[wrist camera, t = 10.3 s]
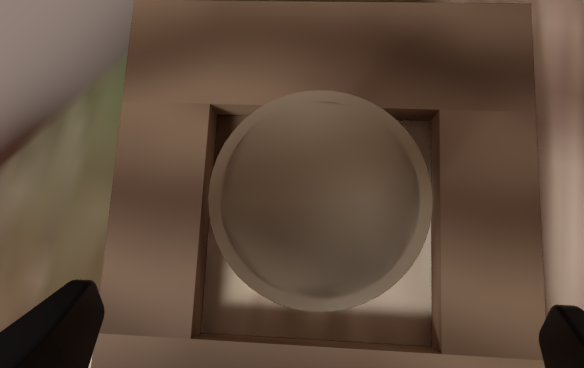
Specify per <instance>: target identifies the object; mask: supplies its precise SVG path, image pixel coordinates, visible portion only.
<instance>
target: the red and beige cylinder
mask: <svg viewBox="0 0 584 368" xmlns="http://www.w3.org/2000/svg"><path fill="white" fill-rule="evenodd" d="M208 203H209V216H210V222H211V227H212V230H213V234H214V237H215V240H216V242H217V245H218V247H219V249H220V251H221V253H222V255H223V256H224V258H225V260H226V261H227V263H228V264H229V266H230V267H231V268H232V270H233V271H234V272H235V273H236V274H237V276H238V277H239V278H240V279H241V280H242V281H244V282H245V283H246V284H247V285H248V286H249V287H250V288H252V289H253V290H254V291H256V292H257V293H259V294H260V295H262V296H263V297H265V298H267V299H269V300H271V301H273V302H275V303H278V304H280V305H283V306H286V307H289V308H293V309H297V310H302V311H311V312H331V311H339V310H344V309H349V308H352V307H355V306H358V305H361V304H364V303H366V302H368V301H370V300H372V299H374V298H376V297H378V296H380V295H381V294H382V293H384V292H385V291H387V290H388V289H390V288H391V287H392V286H393V285H394V284H395V283H397V282H398V281H399V280H400V279H401V278H402V277H403V276H404V275H405V273H406V272H407V271H408V270H409V269H410V267H411V266H412V265H413V263H414V261H415V260H416V258H417V257H418V255H419V253H420V251H421V249H422V247H423V245H424V242H425V240H426V237H427V234H428V230H429V227H430V222H431V215H432V188H431V180H430V177H429V173H428V169H427V166H426V163H425V161H424V158H423V156H422V153H421V152H420V150H419V148H418V146H417V145H416V143H415V141H414V140H413V138H412V137H411V136H410V134H409V133H408V132H407V130H406V129H405V128H404V127H403V126H402V125H401V124H400V123H399V122H398V121H397V120H396V119H395V118H394V117H392V116H391V115H390V114H389V113H387V112H386V111H385V110H383V109H382V108H380V107H378V106H377V105H375V104H373V103H371V102H369V101H367V100H365V99H362V98H360V97H357V96H354V95H350V94H347V93H342V92H336V91H324V90H315V91H303V92H298V93H294V94H289V95H286V96H284V97H281V98H278V99H275V100H273V101H271V102H269V103H267V104H265V105H263V106H262V107H260V108H259V109H257V110H256V111H254V112H253V113H252V114H250V115H249V116H248V117H247V118H246V119H244V120H243V121H242V122H241V123H240V124H239V125H238V127H237V128H236V129H235V130H234V131H233V132H232V133H231V135H230V136H229V138H228V139H227V141H226V142H225V143H224V145H223V147H222V149H221V151H220V153H219V155H218V157H217V160H216V162H215V165H214V168H213V171H212V175H211V180H210V185H209V195H208Z"/></svg>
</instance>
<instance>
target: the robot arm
mask: <svg viewBox="0 0 584 368" xmlns="http://www.w3.org/2000/svg"><path fill="white" fill-rule="evenodd" d="M104 314H105V309H104V304H103V302H102V299H101V296H100V294H99V291H98V289H97V286H96V284H95V283H94V282H93V281H91V280H72V281H70V282H68V283H67V284H66V285H64V286H63V287H61V288H60V289H59V290H57V291H56V292H55V293H53V294H52V295H51V296H49V297H48V298H46V299H45V300H44V301H42V302H41V303H40V304H38V305H37V306H36V307H34V308H33V309H31V310H30V311H29V312H27V313H26V314H25V315H23V316H22V317H21V318H19V319H18V320H16V321H15V322H14V323H12V324H11V325H10V326H8V327H7V328H6V329H4V330H3V331H1V332H0V368H88V366H89V363H90V360H91V357H92V354H93V351H94V347H95V344H96V341H97V338H98V335H99V332H100V328H101V325H102V322H103V319H104ZM539 345H540V349H541V353H542V357H543V361H544V365H545V368H584V311H583V310H582V309H581V308H579V307H577V306H571V305H554V306H553V307H551V309H550V311H549V313H548V315H547V317H546V319H545V321H544V323H543V325H542V327H541V329H540V332H539Z"/></svg>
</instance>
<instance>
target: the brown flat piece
mask: <svg viewBox="0 0 584 368" xmlns="http://www.w3.org/2000/svg"><path fill="white" fill-rule="evenodd" d="M315 90H324V91H336V92H342V93H347V94H350V95H354V96H357V97H360V98H362V99H365V100H367V101H369V102H371V103H373V104H375V105H377V106H378V107H380V108H382V109H383V110H385V111H386V112H387V113H389V114H390V115H391V116H392V117H394V118H395V119H396V120H431V188H432V215H431V254H432V347H428V346H411V345H394V344H377V343H361V342H344V341H327V340H310V339H294V338H277V337H260V336H243V335H227V334H210V333H200V330H201V318H202V305H203V292H204V280H205V267H206V254H207V241H208V229H209V203H208V195H209V185H210V180H211V175H212V171H213V165H214V152H215V140H216V127H217V115H248V116H249V115H250V114H252V113H253V112H254V111H256V110H257V109H259V108H260V107H262V106H263V105H265V104H267V103H269V102H271V101H273V100H275V99H278V98H281V97H284V96H286V95H289V94H294V93H298V92H303V91H315ZM100 296H101V299H102V302H103V304H104V309H105V314H104V319H103V322H102V325H101V328H100V332H99V335H98V338H97V341H96V344H95V347H94V351H93V356H92V364H91V368H545V365H544V361H543V357H542V353H541V349H540V345H539V332H540V329H541V327H542V325H543V323H544V321H545V319H546V315H545V294H544V273H543V251H542V230H541V209H540V188H539V166H538V145H537V124H536V103H535V81H534V60H533V39H532V18H531V4H514V3H414V2H315V1H215V0H134V6H133V14H132V22H131V31H130V40H129V48H128V56H127V65H126V73H125V82H124V91H123V99H122V108H121V116H120V125H119V133H118V142H117V150H116V159H115V168H114V176H113V185H112V193H111V202H110V210H109V219H108V227H107V236H106V245H105V253H104V262H103V270H102V279H101V287H100Z"/></svg>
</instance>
